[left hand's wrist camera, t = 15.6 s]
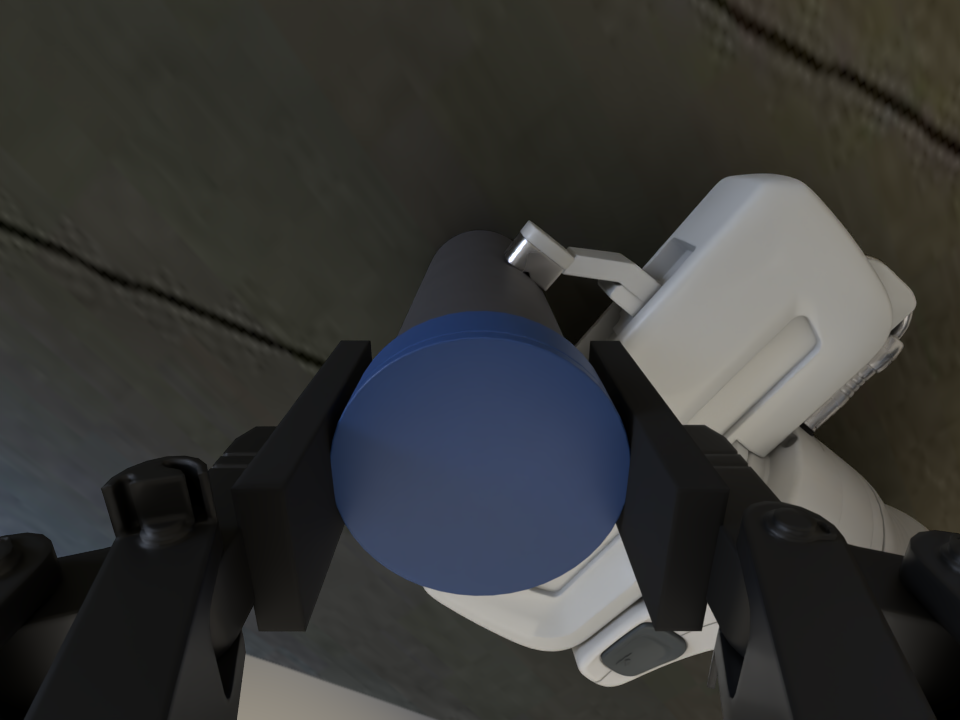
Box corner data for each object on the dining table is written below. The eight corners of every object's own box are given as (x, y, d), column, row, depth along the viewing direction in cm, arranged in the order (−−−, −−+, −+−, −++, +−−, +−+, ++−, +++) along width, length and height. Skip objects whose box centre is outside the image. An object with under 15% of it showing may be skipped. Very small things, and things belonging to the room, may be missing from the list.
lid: (590, 281, 11) (609, 305, 9) (626, 516, 13) (648, 570, 11) (313, 342, 11) (284, 375, 9) (391, 559, 13) (378, 617, 11)
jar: (512, 347, 27) (552, 586, 12) (414, 317, 26) (328, 527, 11) (549, 249, 25) (649, 388, 10) (444, 215, 24) (390, 307, 10)
